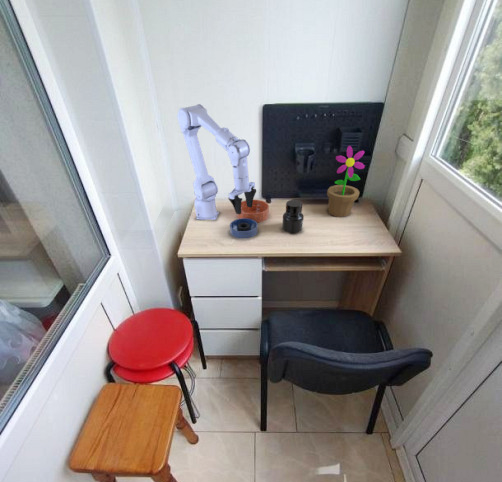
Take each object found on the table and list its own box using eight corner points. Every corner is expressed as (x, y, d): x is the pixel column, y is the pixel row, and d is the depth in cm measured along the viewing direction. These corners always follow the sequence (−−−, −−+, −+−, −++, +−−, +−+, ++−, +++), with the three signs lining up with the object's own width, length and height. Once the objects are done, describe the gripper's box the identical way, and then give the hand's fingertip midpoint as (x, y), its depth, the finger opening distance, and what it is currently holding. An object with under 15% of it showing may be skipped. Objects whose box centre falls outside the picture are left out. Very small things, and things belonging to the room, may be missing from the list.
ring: (237, 233, 123) (237, 227, 121) (239, 228, 127) (239, 222, 125) (248, 234, 123) (248, 228, 121) (250, 228, 126) (250, 222, 124)
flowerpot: (323, 217, 133) (335, 147, 113) (324, 204, 143) (336, 137, 123) (354, 220, 131) (372, 149, 110) (353, 206, 141) (370, 139, 120)
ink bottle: (306, 230, 125) (310, 204, 117) (292, 236, 121) (294, 210, 113) (291, 221, 131) (294, 196, 122) (277, 227, 127) (278, 202, 119)
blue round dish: (228, 238, 121) (227, 231, 119) (233, 224, 130) (232, 217, 127) (255, 240, 120) (255, 232, 118) (259, 226, 129) (259, 218, 126)
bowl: (234, 223, 131) (234, 213, 127) (240, 208, 142) (239, 198, 138) (267, 225, 129) (267, 214, 126) (270, 210, 140) (270, 200, 136)
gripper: (237, 183, 103) (240, 218, 112) (260, 172, 112) (261, 205, 120) (222, 181, 107) (227, 215, 116) (246, 170, 115) (248, 202, 124)
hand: (244, 210), depth 118 cm, fingers open, 7 cm apart
